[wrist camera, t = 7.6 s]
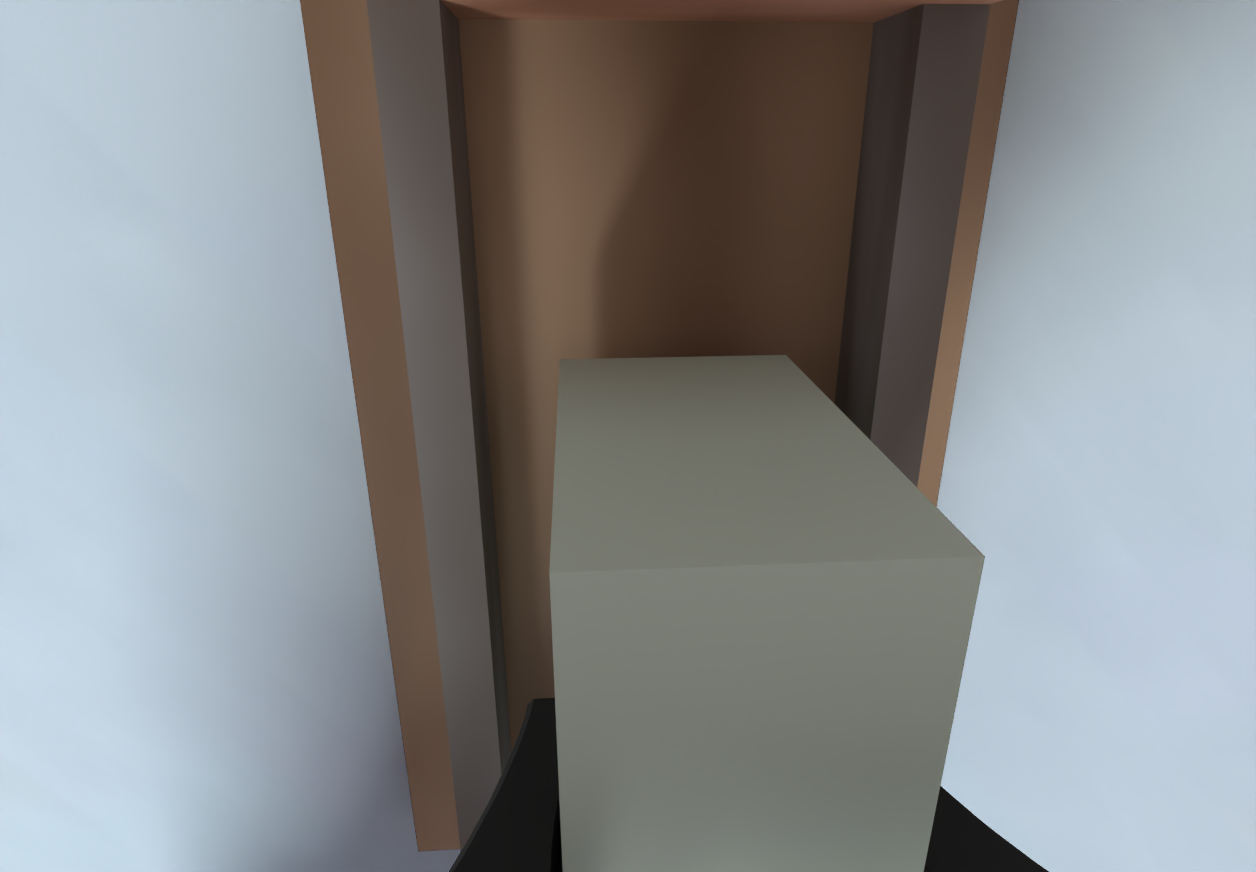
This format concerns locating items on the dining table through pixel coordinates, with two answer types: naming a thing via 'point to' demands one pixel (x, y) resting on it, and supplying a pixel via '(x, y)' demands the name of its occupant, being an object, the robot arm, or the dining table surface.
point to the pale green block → (745, 625)
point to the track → (621, 273)
